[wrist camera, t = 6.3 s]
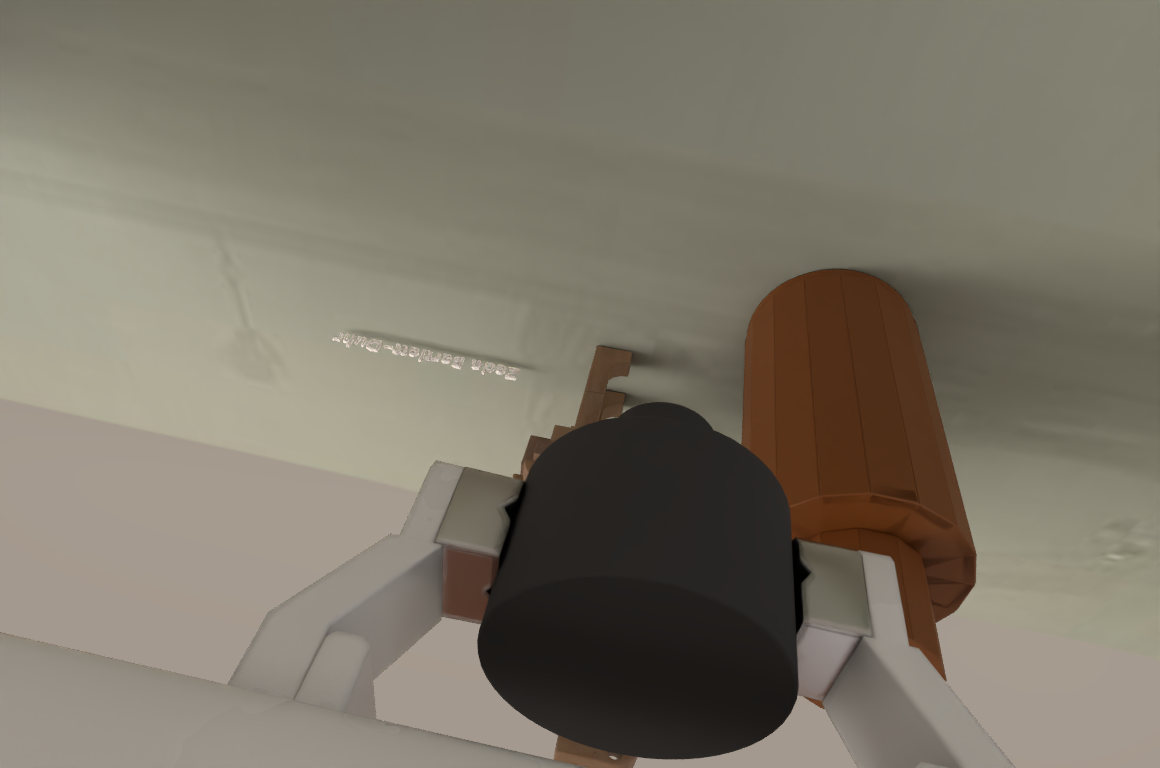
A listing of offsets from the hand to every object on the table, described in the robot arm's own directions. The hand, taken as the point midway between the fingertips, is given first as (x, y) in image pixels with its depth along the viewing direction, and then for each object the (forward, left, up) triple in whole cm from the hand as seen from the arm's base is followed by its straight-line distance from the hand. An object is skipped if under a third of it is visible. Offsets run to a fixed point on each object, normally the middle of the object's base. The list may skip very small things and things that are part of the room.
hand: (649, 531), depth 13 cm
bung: (0, 0, -2) cm, 2 cm away
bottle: (+7, -9, -20) cm, 23 cm away
